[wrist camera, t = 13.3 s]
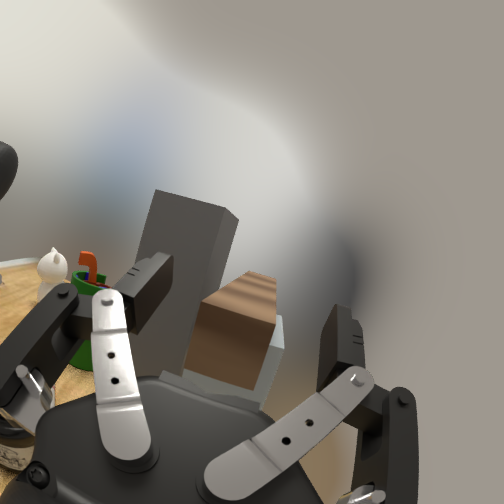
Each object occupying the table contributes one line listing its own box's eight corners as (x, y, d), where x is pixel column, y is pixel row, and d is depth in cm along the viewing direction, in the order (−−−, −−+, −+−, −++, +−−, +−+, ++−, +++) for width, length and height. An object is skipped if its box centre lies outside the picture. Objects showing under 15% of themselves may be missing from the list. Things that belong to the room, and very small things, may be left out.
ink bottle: (-28, 455, 12) (-53, 366, 12) (-5, 413, 20) (-15, 332, 20) (48, 488, 15) (34, 408, 15) (60, 438, 24) (58, 360, 23)
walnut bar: (253, 391, 13) (276, 324, 13) (183, 368, 13) (200, 301, 13) (267, 305, 37) (276, 279, 37) (240, 297, 37) (248, 270, 37)
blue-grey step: (217, 512, 21) (284, 349, 21) (156, 492, 22) (196, 321, 22) (231, 454, 33) (281, 315, 33) (184, 439, 34) (223, 298, 34)
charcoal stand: (165, 437, 33) (225, 207, 33) (110, 411, 34) (155, 189, 33) (188, 400, 45) (238, 219, 44) (142, 381, 46) (185, 204, 45)
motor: (113, 371, 45) (132, 267, 45) (69, 371, 39) (83, 258, 38) (95, 345, 52) (112, 252, 52) (57, 343, 45) (70, 244, 45)
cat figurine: (31, 300, 58) (38, 243, 57) (72, 304, 67) (81, 251, 67) (35, 314, 52) (42, 251, 51) (81, 318, 61) (90, 259, 61)
